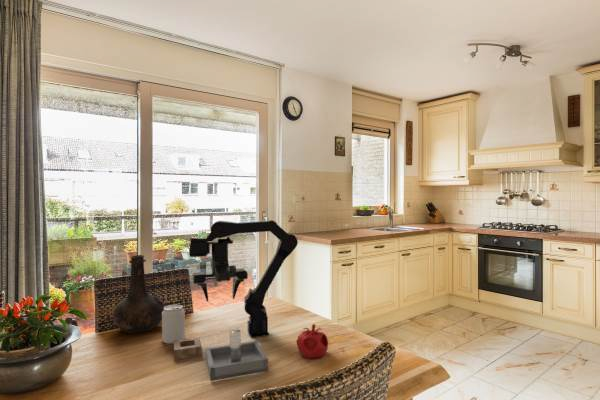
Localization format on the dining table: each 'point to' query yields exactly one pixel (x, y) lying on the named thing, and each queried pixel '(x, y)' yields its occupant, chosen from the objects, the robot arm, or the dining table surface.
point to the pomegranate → (312, 343)
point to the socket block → (187, 348)
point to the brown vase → (138, 303)
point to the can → (173, 323)
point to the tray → (249, 364)
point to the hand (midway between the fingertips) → (220, 299)
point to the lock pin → (235, 346)
